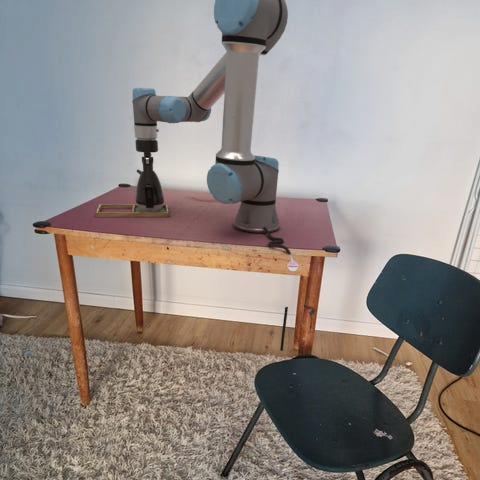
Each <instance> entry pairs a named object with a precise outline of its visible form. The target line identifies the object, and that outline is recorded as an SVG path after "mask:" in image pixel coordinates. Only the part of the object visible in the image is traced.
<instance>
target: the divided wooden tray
mask: <svg viewBox="0 0 480 480" xmlns="http://www.w3.org/2000/svg"><path fill="white" fill-rule="evenodd" d="M102 209H131V211H128V212H127V211H124V212H123V211H121V212H120V211H119V212H118V211H117V212H116V211H114V212H113V211H111V212H110V211H109V212H107V211H106V212H105V211H104V212H103V211H102ZM101 211H102V212H101ZM169 214H170V213H169V205H168V204H167V203H163V207H162V209H161V210H160V211H159V212H142V211H141V210H140V209H139V208H138V205H137V203H100V204H98V207H97V209H96V211H95V217H96V218H169V217H170V216H169Z"/></svg>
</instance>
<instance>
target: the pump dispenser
mask: <svg viewBox="0 0 480 480" xmlns="http://www.w3.org/2000/svg"><path fill="white" fill-rule="evenodd" d="M136 173H137V174H138V175H139V177H138V179H137V184H136V190H135V204H137V205H138V208H139V209H140V210H141V211H142V212H159V211H160V210H161V209H162V207H163V204H165V196H164V190H163V187H162V184H161V183H162V182H161V181H160V178H159V176H158V174H157V173H156V171H155V170H153V171H152V186H153V200H154V208H146V198H145V189H143V187H145V175H144V170H143V169H142V170H140V169H139V168H138V169H136Z"/></svg>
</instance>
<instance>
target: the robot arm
mask: <svg viewBox="0 0 480 480" xmlns="http://www.w3.org/2000/svg"><path fill="white" fill-rule="evenodd" d="M213 18H214V22H215V24H216V27H217V28H218V30H219V31H220V32H221V45H222V47H223V48H224V49H225V51H226V52H225V53H224V54H223V55H222V57H221V58H219V60H218V61H217V62H216V63H215V65H214V66H213V67H212V68H211V70H210V71H209V72H208V73H207V74H206V76H205V77H204V78H203V79H202V80H201V81H200V82H199V83H198V85H197V86H196V87H195V88H194V90H193V91H192V92H191V93H190V94H189V95H188V96H177V95H176V96H175V95H157V93H156V92H157V91H156V90H155V88H152V87H151V88H150V87H134V88H132V101H131V103H132V112H133V113H132V114H133V123H134V125H133V128H134V129H133V131H134V138H135V142H134V143H135V150H136V152H139V153H143V156H141V163H142V171H143V170H144V175H145V187H143V189H145V198H146V208H154V200H153V186H152V171H154V156H152V153H157V152H159V141H158V140H157V139H158V133H159V132H160V128H158V122H161V123H167V124H179V123H201V122H205V121H207V120H209V118H210V117H211V113H212V107H213V106H214V105H215V104H216V103H217V102H218V101H219V100H220V99H221V97H223V95H224V97H223V111H222V112H223V113H222V130H221V131H222V132H221V146H220V147H221V148H220V149H219V151H217V153H215V164H212V166H211V167H210V168H209V169H208V171H207V174H206V185H207V188H208V191H209V193H210V194H211V195H212V197H213V198H214V199H215V200H216V201H217V202H218V203H220V204H223V205H230V204H231V205H233V204H238V203H240V204H239V208H238V210H237V213H236V216H235V218H234V228H235V229H237V230H239V231H242V232H247V233H252V234H253V233H254V234H267V237H268V238H269V239H271V240H270V241H269V242H268V243H267V245H268V246H269V247H272V248H280V249H283V250H285V252H286V253H287V255H292V253H291V250H290V249H289V247H287V246H286V245H283V244H282V243H283V242H284V241H285V240H284V239H283V238H282V237H276V236H272V234H271V233H273V232H276V231H278V230H279V229H280V220H279V217H278V212H277V206H276V201H277V190H278V179H279V172H280V171H279V170H280V169H279V164H280V163H279V160H278V159H277V158H275V157H269V156H262V155H256V154H255V155H254V154H253V153H252V141H253V140H252V139H253V130H254V129H253V128H254V119H255V117H254V116H255V108H256V107H255V106H256V105H255V104H256V97H257V96H256V95H257V83H258V74H259V73H258V72H259V62H260V61H259V60H260V56H266V55H267V54H268V53H269V52H270V51H271V50H272V49H273V48H274V47H275V45H276V44H277V43H278V42H279V40H280V39H281V38H282V36H283V34H284V33H285V31H286V27H287V24H288V19H289V10H288V6H287V3H286V0H215V1H214V6H213ZM288 310H289V306H285V307H284V313H283V314H284V315H283V322H282V330H281V338H280V348H279V349H280V351H281V352H283V351H284V344H285V335H286V326H287V320H288V319H287V318H288V312H289V311H288Z"/></svg>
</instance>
